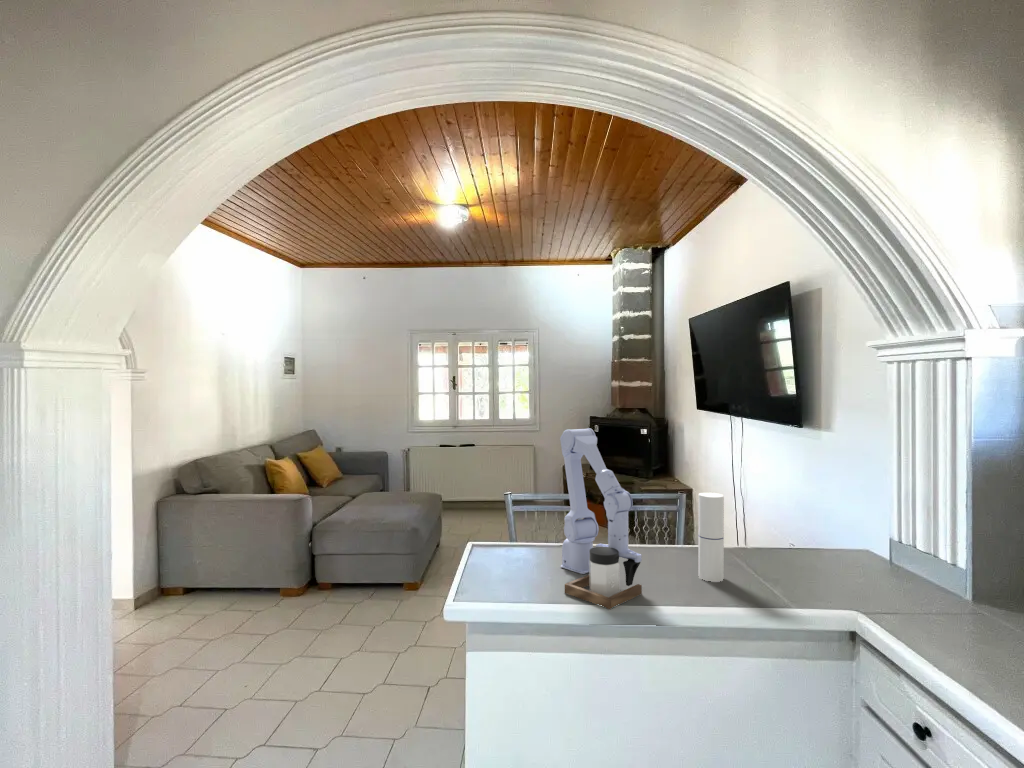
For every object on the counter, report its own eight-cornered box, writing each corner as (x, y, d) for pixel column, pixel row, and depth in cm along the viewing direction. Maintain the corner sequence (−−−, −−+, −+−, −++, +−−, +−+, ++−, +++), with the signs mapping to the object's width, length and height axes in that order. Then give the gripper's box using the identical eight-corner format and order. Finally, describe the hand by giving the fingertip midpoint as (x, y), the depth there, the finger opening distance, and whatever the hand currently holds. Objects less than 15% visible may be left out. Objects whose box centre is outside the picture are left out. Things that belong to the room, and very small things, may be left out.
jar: (600, 602, 148) (600, 557, 148) (582, 591, 155) (582, 549, 155) (626, 595, 152) (626, 552, 152) (607, 586, 160) (607, 544, 159)
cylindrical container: (697, 580, 164) (697, 496, 164) (699, 572, 171) (699, 491, 171) (723, 583, 161) (723, 498, 161) (723, 575, 168) (723, 493, 168)
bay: (564, 592, 155) (564, 583, 155) (597, 579, 165) (597, 571, 165) (609, 609, 143) (609, 599, 143) (641, 594, 154) (641, 585, 154)
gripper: (647, 536, 156) (647, 584, 156) (606, 526, 167) (606, 571, 167) (633, 541, 151) (633, 591, 152) (591, 531, 162) (591, 577, 162)
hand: (618, 581), depth 159 cm, fingers open, 7 cm apart
